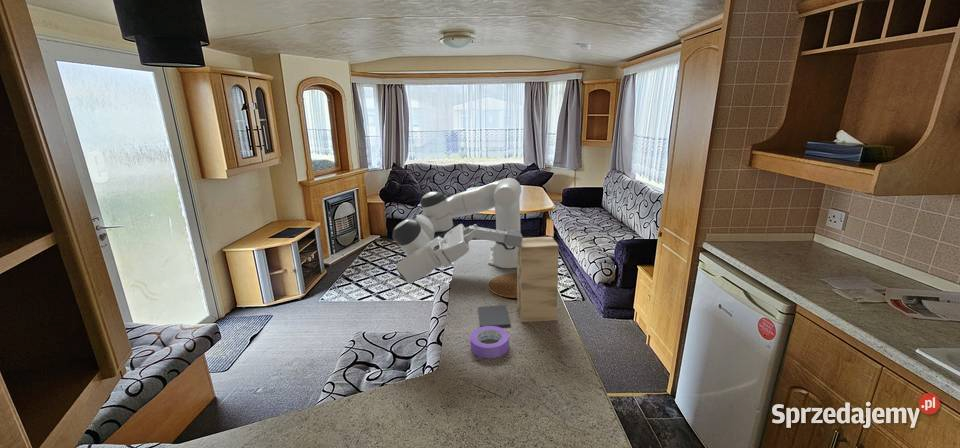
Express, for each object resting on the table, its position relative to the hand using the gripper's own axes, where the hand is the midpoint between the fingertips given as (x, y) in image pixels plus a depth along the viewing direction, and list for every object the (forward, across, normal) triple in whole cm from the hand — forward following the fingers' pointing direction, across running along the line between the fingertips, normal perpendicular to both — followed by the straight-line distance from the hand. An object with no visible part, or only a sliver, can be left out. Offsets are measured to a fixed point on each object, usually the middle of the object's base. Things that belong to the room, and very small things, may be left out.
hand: (477, 228), depth 125 cm
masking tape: (-15, +17, -30) cm, 37 cm away
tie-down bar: (+2, 0, -6) cm, 7 cm away
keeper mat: (-12, 0, -31) cm, 33 cm away
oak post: (+1, 0, -38) cm, 38 cm away
